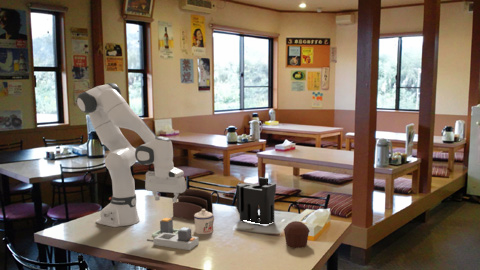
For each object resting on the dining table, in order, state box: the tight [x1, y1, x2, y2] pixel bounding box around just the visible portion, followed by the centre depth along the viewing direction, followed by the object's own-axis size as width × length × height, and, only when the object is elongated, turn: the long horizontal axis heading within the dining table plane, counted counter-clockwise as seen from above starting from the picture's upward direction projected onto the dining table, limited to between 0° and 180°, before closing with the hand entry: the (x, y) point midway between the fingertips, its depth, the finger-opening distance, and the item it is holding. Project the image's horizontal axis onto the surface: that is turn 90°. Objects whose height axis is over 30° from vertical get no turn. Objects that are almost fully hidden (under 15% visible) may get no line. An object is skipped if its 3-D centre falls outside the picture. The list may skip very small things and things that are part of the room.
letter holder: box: [172, 188, 214, 221], centre depth 233 cm, size 10×20×14 cm, turn 58°
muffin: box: [283, 220, 311, 249], centre depth 191 cm, size 12×11×10 cm
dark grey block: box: [178, 226, 192, 242], centre depth 189 cm, size 4×4×8 cm
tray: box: [151, 228, 180, 238], centre depth 205 cm, size 10×10×2 cm
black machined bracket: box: [235, 176, 277, 224], centre depth 223 cm, size 12×21×22 cm, turn 54°
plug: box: [159, 217, 174, 234], centre depth 204 cm, size 4×4×8 cm
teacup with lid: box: [194, 209, 215, 235], centre depth 209 cm, size 12×9×12 cm
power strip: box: [146, 232, 200, 251], centre depth 192 cm, size 24×8×5 cm, turn 68°
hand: (166, 201), depth 203 cm, fingers open, 8 cm apart
